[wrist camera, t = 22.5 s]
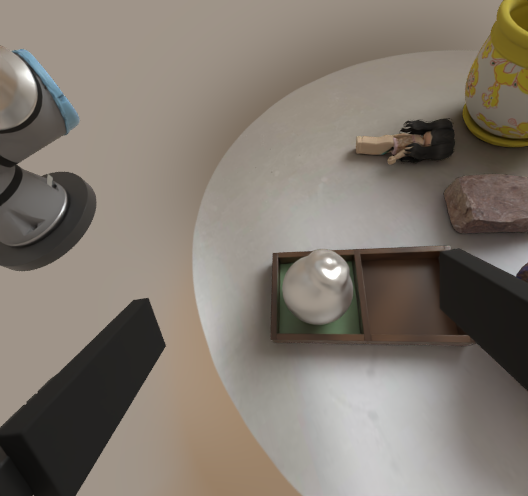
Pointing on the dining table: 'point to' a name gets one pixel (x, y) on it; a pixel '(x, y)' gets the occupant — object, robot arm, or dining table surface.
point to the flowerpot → (501, 81)
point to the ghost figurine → (318, 287)
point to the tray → (375, 301)
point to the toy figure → (413, 142)
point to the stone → (488, 203)
